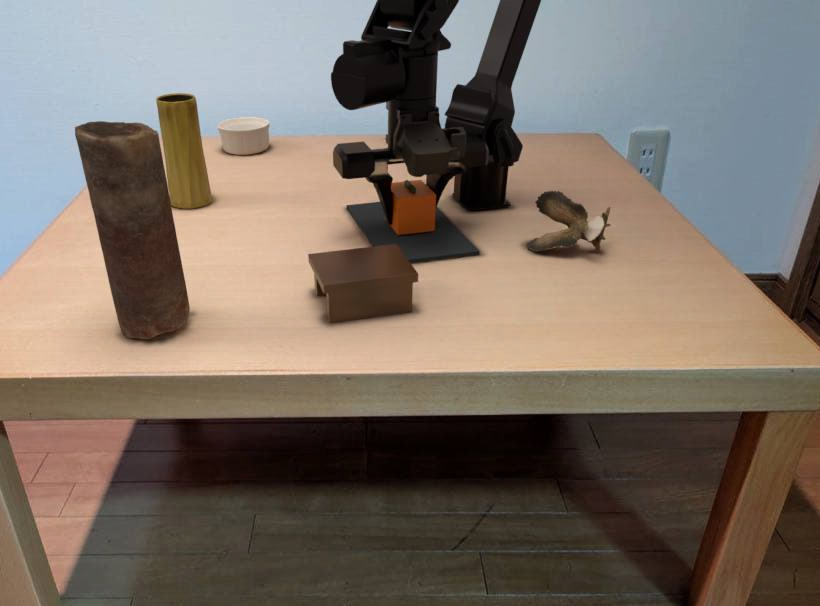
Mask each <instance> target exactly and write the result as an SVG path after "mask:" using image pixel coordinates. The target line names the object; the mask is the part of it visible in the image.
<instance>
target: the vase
mask: <svg viewBox="0 0 820 606" xmlns="http://www.w3.org/2000/svg"><path fill="white" fill-rule="evenodd" d="M155 101H156V108H157V115H158V121H159V128H160V135H161V141H162V147H163V155H164V161H165V162H164V163H165V173H166V179H167V185H168V191H169V197H170V201H171V207H174V208H177V209H184V210H187V209H188V210H191V209H199V208H202V207H205V206H207V205H210V204H211V203H212V201H213V195H212V190H211V185H210V179H209V174H208V168H207V164H206V157H205V153H204V148H203V140H202V134H201V127H200V119H199V111H198V103H197V98H196V96H195V95H194V94H191V93H185V92H183V93H182V92H178V93H177V92H176V93H168V94H167V93H166V94H162V95H159V96H157V97H156V98H155Z"/></svg>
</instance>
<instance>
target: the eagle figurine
mask: <svg viewBox="0 0 820 606" xmlns="http://www.w3.org/2000/svg"><path fill="white" fill-rule="evenodd" d="M535 205H536V208H537V209H538V212H539V213H541V214H542V215H544V216H545V217H548V218H549V219H551V220H552V221H553V222H557V223H560V224H563V225H565V226H567V228H565V229H562V230H561V229H560V230H557V231H552V232H548V233H545V234H543V235H541V236H539V237H535V238H533V239H531V240H529V241H528V242H526V243H525V247H526V248H527V249H529V250H530V251H533V252H543V251H547V250H549V249H551V250H552V249H554V248H560V247H562V248H570V247H572V246H575V245H576V244H577V243H578V241H580V240H583V241H586V242H588V243H590V244H592V246H593V247H594V252H596V253H599V252H600V250H601V243H602V240H603V241H605V240H606V237H605V235H604V233H605V230H606V228H607V227H610V226H611V223H608V219H609V215H610V212H611V209H612V208H611V206H608V207H607V209H606V210H605V211H603V212H602V213H601V215H596V216H595V217H593V218H591V219H589V220H588V218H589V213H588V211H587V210H586V208H585V206H583V205H582V203H577V202H575V201H574V200H572V199H571V198H569V197H568V196H567V195H565V194H564V192H562V191H559V190H557V191H556V190H548V191H544V192H543V193H541V194H540V195H539V196H537V199H536V200H535Z"/></svg>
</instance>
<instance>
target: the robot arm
mask: <svg viewBox="0 0 820 606" xmlns="http://www.w3.org/2000/svg"><path fill="white" fill-rule="evenodd" d="M459 1H460V0H376V1H375V3H374V4H375V5H374V7H373V8H372V11H371V13H370V16H369V18H368V20H367V22H366V25H365V26H364V29H363V31H362V34H361V36H360V39H361V40H353V39H351V40H345V41H343V43H342V53H341V54H340V55H339V56H338V57H337V58H336V60H335V62H334V65H333V66H332V72H330V83H331V89H332V92H333V94H334V97H335V99H336V101H337V102H338V103H339V105H340V106H341V107H342V108H343V109H345V110H347V111H356V110H360V109H364V108H368V107H372V106H376V105H380V104H385V109H386V110H387V134H385V144H386V145H387V148H374V149H371V147H370V146H369V145H368V144H367V143H366V142H365V141H354V142H341V143H336V145H335V146H334V147H333V151H332V165H333V167H334V168H335V170H336V171H337V173H338V174H339V176H340V177H341V178H342V179H345V180H355V179H356V180H357V179H365V180H366V181H367V182H368V183H370V184H372V185H373V187H374V189H375V191H376V194H377V198H378V200H379V202H380V203H381V205H382V208H383V211H384V214H385V217H386V219H387V222H388V223H389V224H392V219H393V207H392V194H391V184H392V183H393V181H394V177H393V176H392V175H391V174H390V173H389V166H390V165H398V164H405V167H406V169H407V170H406V171H407V173H408V174H409V175H410V176H411V177H413V178H422V177H423V176H426V177H425V184H426V185H427V186H428V187H429V188H430V189H431V190H432V191H433V192H434V193H435V194H436V207H438V205H439V202H440V200H441V197H442V195H443V192H444V191H445V188H446V187H447V185H448V183H449V182H450V181H451V180H452V179H453V178H454V180H453V192H451V193H452V194H451V197H452V198H453V199H454V200H455V201H456V202H457V203H458V204H459V205H461V207H463V208H464V209H465V210H466V211H468V212H472V211H473V212H474V211H480V210H491V209H499V208H508V207H511V202H510V201H509V200H508V199H506V196H507V187H508V177H509V168H510V167H513V166H515V163H518V162H519V161H520V157H521V154H522V151H523V147H524V145H523V143H522V141H521V140H520V138H519V137H518V135H517V133H516V132H515V130H514V129H513V127H512V126H513V123H514V118H515V114H516V109H515V103H514V97H513V91H512V87H513V83H514V80H515V79H516V75H517V72H518V69H519V66H520V64H521V61H522V57H523V54H524V51H525V48H526V46H527V43H528V40H529V37H530V34H531V31H532V29H533V26H534V22H535V20H536V17H537V14H538V12H539V8H540V5H541V1H542V0H499V2H498V5H497V8H496V11H495V14H494V16H493V17H494V18H493V21H492V23H491V27H490V30H489V32H488V35H487V39H486V41H485V44H484V48H483V50H482V54H481V57H480V60H479V63H478V66H477V69H476V72H475V74H474V76H473V77H472V78H471V79H470V80H469V81H468V82H467V83H466V84H460V83H457V84H456V85H455V87H454V88H453V90H452V94H451V99H450V103H449V105H448V107H447V109H446V111H445V113H444V116H445V117H446V118H445V123H444V128H442V125H441V121H440V107H439V106H437V88H438V87H437V85H438V62H439V52H441V51H447V50H450V49H451V48H452V43H451V41H450V40H449V38H447V37H446V36H445V35H444V34H443V33H442V29H443V28H444V26H445V24H446V23H447V21H448V19H449V18H450V16H451V15H452V13H453V12H454V10H455V9H456V7H457V6H458V4H459Z"/></svg>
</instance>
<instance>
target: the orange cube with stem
mask: <svg viewBox="0 0 820 606" xmlns="http://www.w3.org/2000/svg"><path fill="white" fill-rule="evenodd" d="M391 194H392V207H393V219H392V224H389V225H390V226H391V227H392V228H393V230H394V231H395V232H396V234H397V235H403V234H412V233H421V232H429V231H435V210H436V194H435V193H434V192H433V191H432V190H431V189H430V188H429V187H428V186H427V185H426V182H424V181H423V180H422V179H415V180H408V179H406V180H404V181H395V182H392V184H391ZM385 219H386V217H385ZM386 221H387V219H386Z"/></svg>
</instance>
